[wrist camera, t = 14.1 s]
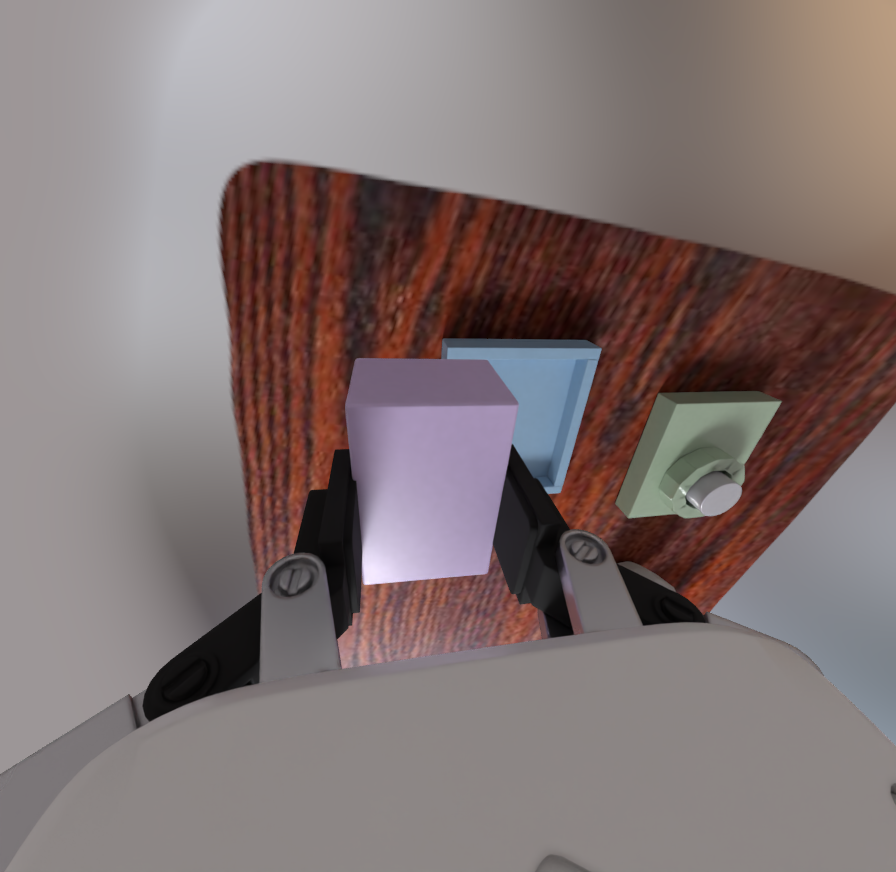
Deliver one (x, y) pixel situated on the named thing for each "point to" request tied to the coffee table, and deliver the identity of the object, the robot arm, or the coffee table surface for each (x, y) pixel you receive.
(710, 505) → the grey push button
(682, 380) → the coffee table surface
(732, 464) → the green push button box
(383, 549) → the soap bar
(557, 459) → the soap dish
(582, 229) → the coffee table surface
